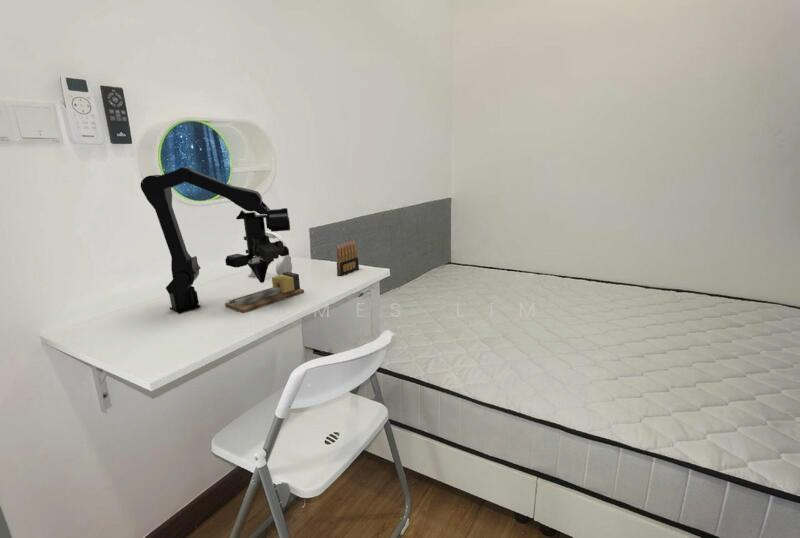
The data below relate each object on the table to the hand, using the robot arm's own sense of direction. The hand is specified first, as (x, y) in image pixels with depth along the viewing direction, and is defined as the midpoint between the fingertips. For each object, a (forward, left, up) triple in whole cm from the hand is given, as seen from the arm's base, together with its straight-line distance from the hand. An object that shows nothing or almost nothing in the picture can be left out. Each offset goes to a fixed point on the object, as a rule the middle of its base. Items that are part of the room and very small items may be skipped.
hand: (261, 282), depth 129 cm
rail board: (+1, 0, -6) cm, 6 cm away
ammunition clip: (+37, 0, -6) cm, 37 cm away
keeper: (+8, 0, -5) cm, 9 cm away
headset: (+16, +19, -6) cm, 26 cm away
